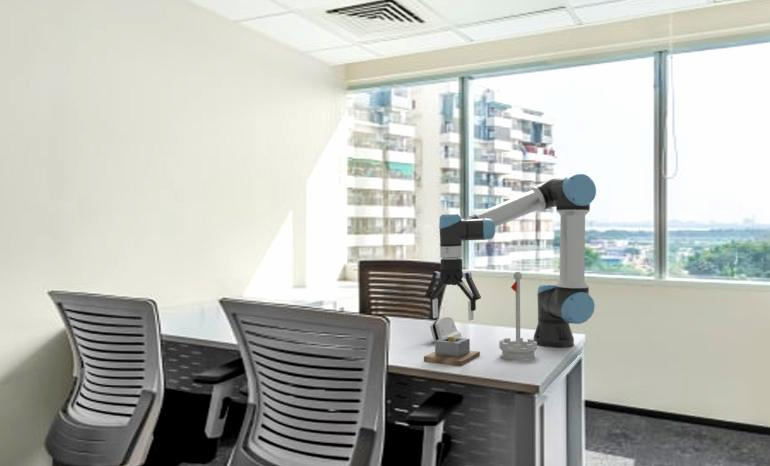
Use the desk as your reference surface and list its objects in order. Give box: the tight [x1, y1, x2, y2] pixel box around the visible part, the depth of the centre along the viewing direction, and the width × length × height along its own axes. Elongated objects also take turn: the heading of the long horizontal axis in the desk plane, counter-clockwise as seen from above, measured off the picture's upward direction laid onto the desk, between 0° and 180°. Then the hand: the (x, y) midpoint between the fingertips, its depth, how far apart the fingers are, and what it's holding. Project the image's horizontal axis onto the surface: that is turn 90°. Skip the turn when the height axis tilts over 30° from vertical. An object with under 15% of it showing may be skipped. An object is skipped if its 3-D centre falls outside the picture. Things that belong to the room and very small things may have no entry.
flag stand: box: [498, 271, 538, 361], centre depth 205 cm, size 13×13×30 cm
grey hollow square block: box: [434, 336, 471, 358], centre depth 203 cm, size 9×9×5 cm
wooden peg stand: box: [423, 336, 481, 367], centre depth 203 cm, size 14×16×8 cm
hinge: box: [429, 316, 463, 344], centre depth 236 cm, size 17×5×10 cm, turn 150°
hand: (453, 318), depth 203 cm, fingers open, 13 cm apart
